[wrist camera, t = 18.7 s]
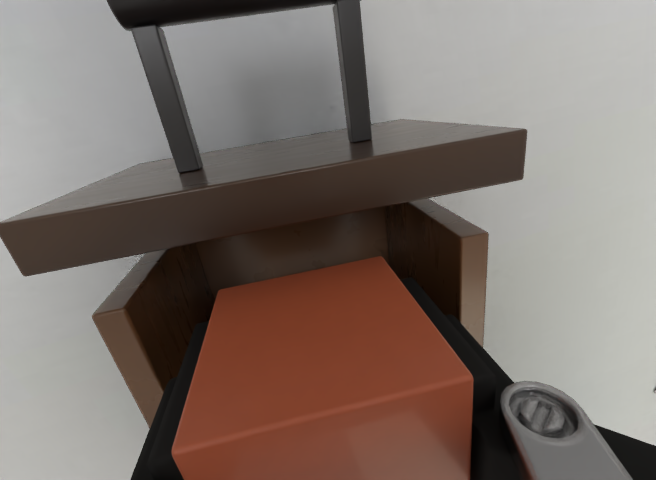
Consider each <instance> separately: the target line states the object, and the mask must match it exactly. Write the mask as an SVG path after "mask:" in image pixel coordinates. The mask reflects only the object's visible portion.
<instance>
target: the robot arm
mask: <svg viewBox="0 0 656 480" xmlns="http://www.w3.org/2000/svg"><path fill="white" fill-rule="evenodd" d="M400 281H401V282H402V283H403V285H404V286H405V287H406V289H407V290H408V291H409V292H410V294H411V295H412V296H413V298H414V299H415V300H416V302H417V303H418V304H419V306H420V307H421V308H422V310H423V311H424V312H425V314H426V315H427V316H428V317H429V319H430V320H431V321H432V323H433V324H434V325H435V327H436V328H437V329H438V331H439V332H440V333H441V335H442V336H443V337H444V339H445V340H446V341H447V342H448V344H449V345H450V346H451V348H452V349H453V350H454V352H455V353H456V354H457V356H458V357H459V358H460V360H461V361H462V362H463V364H464V365H465V366H466V367H467V369H468V370H469V371H470V373H471V374H472V376H473V380H474V381H473V410H472V440H471V470H470V480H656V446H654V445H651V444H648V443H645V442H642V441H640V440H637V439H634V438H631V437H628V436H625V435H623V434H620V433H617V432H614V431H611V430H608V429H605V428H603V427H600V426H597V425H594V424H593V423H592V421H591V420H590V419H589V417H588V416H587V414H586V413H585V412H584V410H583V409H582V408H581V407H580V406H579V405H578V404H577V402H576V401H575V400H574V399H572V398H571V397H570V396H568V395H567V394H565V393H564V392H563V391H561V390H558V389H556V388H554V387H552V386H550V385H547V384H543V383H539V382H532V381H522V382H516V383H514V382H513V381H512V380H511V379H510V378H509V377H508V376H507V374H506V373H505V372H504V371H503V370H502V369H501V368H500V367H499V365H498V364H497V363H496V362H495V361H494V360H493V359H492V358H491V356H490V355H489V354H488V353H487V352H486V351H485V350H484V349H483V347H482V346H481V345H480V344H479V343H478V342H477V341H476V340H475V338H474V337H473V336H472V335H471V334H470V333H469V332H468V331H467V330H466V328H465V327H464V326H463V325H462V324H461V323H460V322H459V321H458V319H457V318H456V317H454V316H453V315H451V314H448V315H444V314H443V313H442V312H441V310H440V309H439V308H438V307H437V306H436V304H435V303H434V302H433V301H432V300H431V299H430V297H429V296H428V295H427V294H426V293H425V291H424V290H423V289H422V288H421V287H420V286H419V284H418V283H417V282H416V281H415V280H414V279H413V278H412V277H409V278H405V279H400ZM208 324H209V321H207V322H202V323H198V324H196V325H195V328H194V331H193V333H192V336H191V339H190V342H189V345H188V348H187V351H186V353H185V356H184V359H183V362H182V365H181V368H180V370H179V373H178V376H177V377H175V378H172V379H170V380H169V382H168V384H167V385H166V388H165V391H164V393H163V396H162V398H161V401H160V404H159V406H158V409H157V412H156V414H155V417H154V419H153V422H152V425H151V427H150V430H149V433H148V435H147V438H146V441H145V443H144V446H143V448H142V451H141V454H140V456H139V459H138V462H137V464H136V467H135V469H134V472H133V475H132V477H131V480H184V479H183V477H182V475H181V473H180V471H179V469H178V467H177V465H176V463H175V461H174V459H173V457H172V452H171V451H172V446H173V443H174V439H175V436H176V433H177V429H178V426H179V422H180V419H181V416H182V412H183V409H184V405H185V402H186V399H187V395H188V392H189V388H190V385H191V382H192V378H193V375H194V371H195V368H196V364H197V361H198V358H199V354H200V351H201V347H202V344H203V341H204V337H205V334H206V330H207V327H208Z"/></svg>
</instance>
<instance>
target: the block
mask: <svg viewBox="0 0 656 480" xmlns="http://www.w3.org/2000/svg"><path fill="white" fill-rule="evenodd" d="M473 381H474V380H473V376H472V374H471V373H470V371H469V370H468V369H467V367H466V366H465V365H464V364H463V362H462V361H461V360H460V358H459V357H458V356H457V354H456V353H455V352H454V350H453V349H452V348H451V346H450V345H449V344H448V342H447V341H446V340H445V339H444V337H443V336H442V335H441V333H440V332H439V331H438V329H437V328H436V327H435V325H434V324H433V323H432V321H431V320H430V319H429V317H428V316H427V315H426V314H425V312H424V311H423V310H422V308H421V307H420V306H419V304H418V303H417V302H416V300H415V299H414V298H413V296H412V295H411V294H410V292H409V291H408V290H407V289H406V287H405V286H404V285H403V283H402V282H401V281H400V279H399V278H398V277H397V275H396V274H395V273H394V271H393V270H392V269H391V267H390V266H389V265H388V264H387V262H386V261H385V260H384V258H383V257H382V256H378V257H373V258H369V259H364V260H359V261H354V262H349V263H345V264H340V265H335V266H330V267H325V268H321V269H316V270H311V271H306V272H301V273H297V274H292V275H287V276H282V277H278V278H273V279H268V280H263V281H258V282H254V283H249V284H244V285H239V286H234V287H230V288H225V289H221V290H219V291H218V293H217V296H216V300H215V303H214V307H213V310H212V313H211V317H210V320H209V324H208V327H207V330H206V334H205V337H204V341H203V344H202V347H201V351H200V354H199V358H198V361H197V364H196V368H195V371H194V375H193V378H192V382H191V385H190V388H189V392H188V395H187V399H186V402H185V405H184V409H183V412H182V416H181V419H180V422H179V426H178V429H177V433H176V436H175V439H174V443H173V446H172V451H171V452H172V457H173V459H174V461H175V463H176V465H177V467H178V469H179V471H180V473H181V475H182V477H183V479H184V480H470V470H471V440H472V410H473Z"/></svg>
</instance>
